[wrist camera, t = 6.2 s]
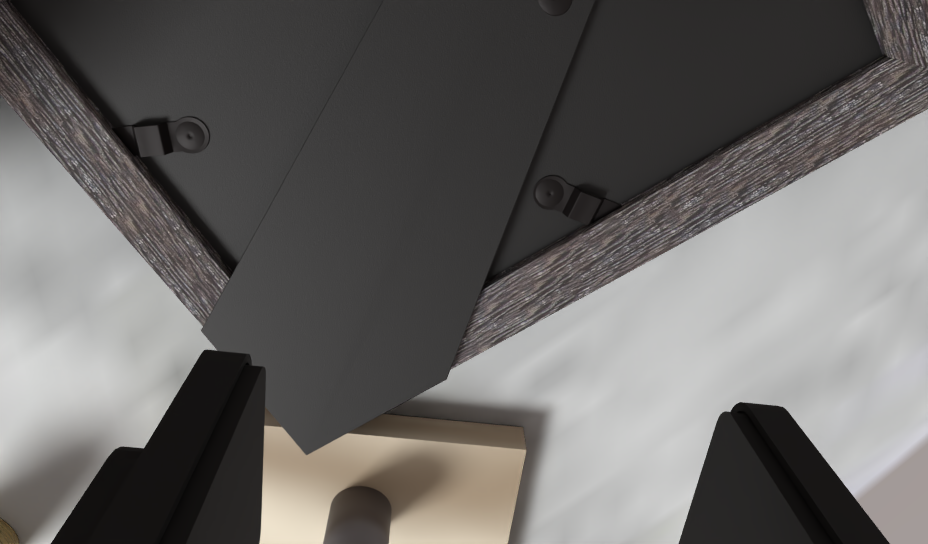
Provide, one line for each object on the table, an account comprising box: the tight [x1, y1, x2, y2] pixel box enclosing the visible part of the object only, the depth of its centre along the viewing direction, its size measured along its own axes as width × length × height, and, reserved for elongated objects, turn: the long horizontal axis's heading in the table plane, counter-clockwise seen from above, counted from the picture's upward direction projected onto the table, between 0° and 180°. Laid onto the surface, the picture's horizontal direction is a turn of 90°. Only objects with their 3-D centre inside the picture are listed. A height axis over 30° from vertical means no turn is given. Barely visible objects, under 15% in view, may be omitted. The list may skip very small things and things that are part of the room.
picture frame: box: [0, 0, 928, 455], centre depth 18 cm, size 16×2×21 cm
